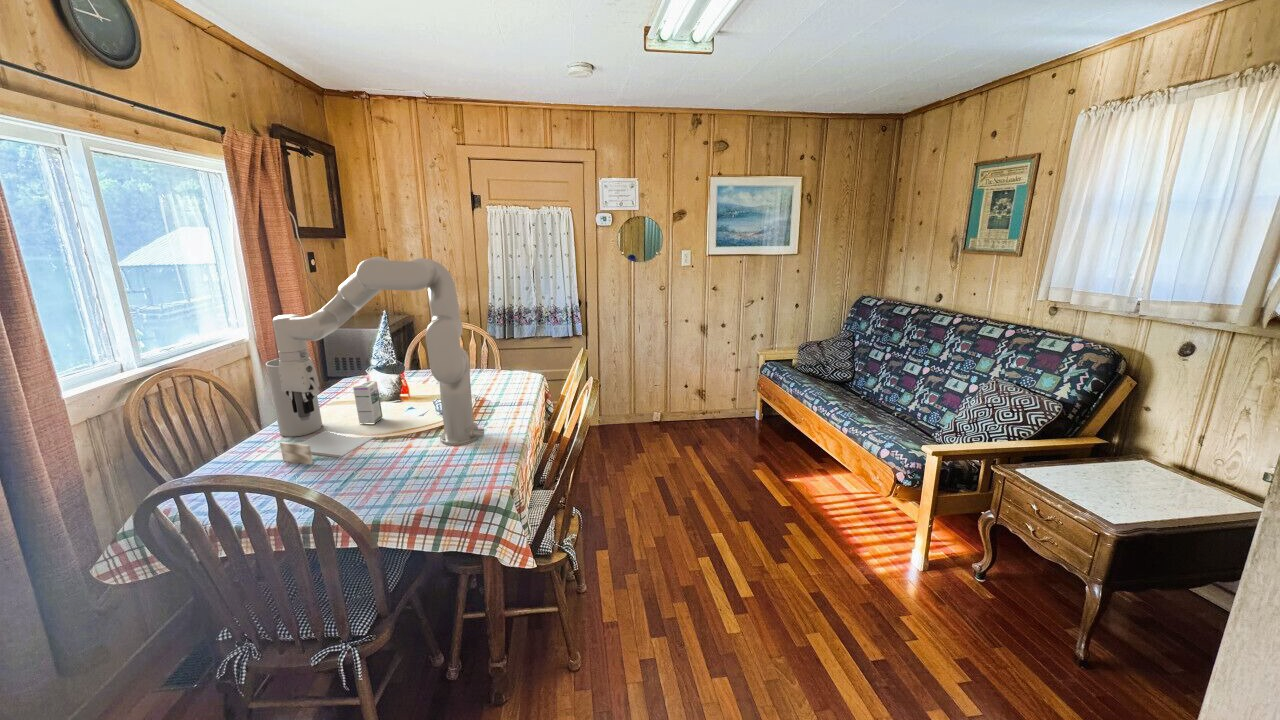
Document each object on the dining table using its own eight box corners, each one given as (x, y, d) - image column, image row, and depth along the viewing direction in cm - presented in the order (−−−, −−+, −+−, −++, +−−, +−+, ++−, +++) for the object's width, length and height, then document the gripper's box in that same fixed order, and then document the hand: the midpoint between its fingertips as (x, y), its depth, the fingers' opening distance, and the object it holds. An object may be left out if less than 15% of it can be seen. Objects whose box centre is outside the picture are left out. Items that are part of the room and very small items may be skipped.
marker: (314, 417, 163) (308, 382, 160) (305, 421, 159) (299, 385, 156) (304, 416, 163) (298, 381, 160) (295, 420, 160) (289, 384, 157)
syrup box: (375, 424, 182) (369, 386, 178) (358, 424, 183) (352, 386, 179) (383, 418, 188) (377, 381, 184) (367, 418, 188) (361, 381, 184)
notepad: (375, 437, 173) (375, 436, 172) (339, 458, 158) (338, 457, 158) (325, 431, 177) (325, 430, 177) (285, 451, 162) (285, 450, 162)
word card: (313, 463, 154) (309, 444, 153) (310, 464, 154) (307, 446, 152) (286, 459, 157) (282, 441, 155) (283, 460, 156) (279, 442, 154)
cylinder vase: (288, 440, 169) (273, 368, 163) (274, 431, 177) (259, 361, 170) (329, 428, 179) (316, 360, 172) (313, 420, 186) (301, 354, 179)
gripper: (326, 354, 158) (335, 409, 163) (282, 350, 161) (292, 405, 166) (306, 360, 151) (316, 418, 156) (260, 356, 154) (271, 413, 159)
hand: (304, 411), depth 161 cm, fingers closed on marker, 3 cm apart
